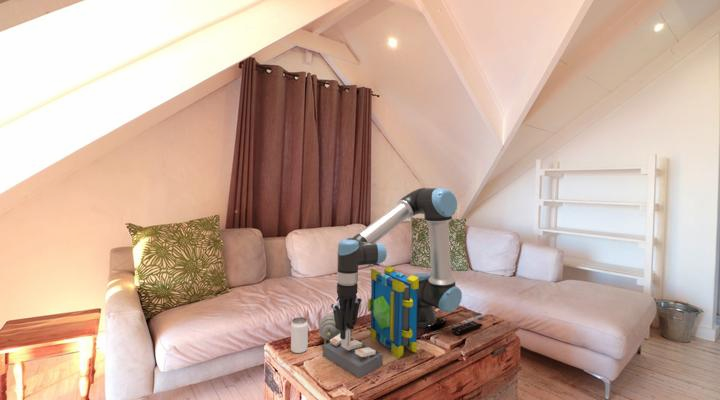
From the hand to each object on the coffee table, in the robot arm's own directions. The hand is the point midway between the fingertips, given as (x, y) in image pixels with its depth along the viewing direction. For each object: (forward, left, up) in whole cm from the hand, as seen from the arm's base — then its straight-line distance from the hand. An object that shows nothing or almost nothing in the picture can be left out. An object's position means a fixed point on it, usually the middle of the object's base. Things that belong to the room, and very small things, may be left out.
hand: (345, 346), depth 120 cm
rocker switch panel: (-3, 0, -6) cm, 7 cm away
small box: (-3, +7, -1) cm, 8 cm away
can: (+7, -20, -7) cm, 22 cm away
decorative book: (-23, +3, -7) cm, 24 cm away
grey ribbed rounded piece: (-7, -17, -7) cm, 20 cm away
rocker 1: (-3, -7, -1) cm, 8 cm away
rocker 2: (-3, 0, -1) cm, 3 cm away
